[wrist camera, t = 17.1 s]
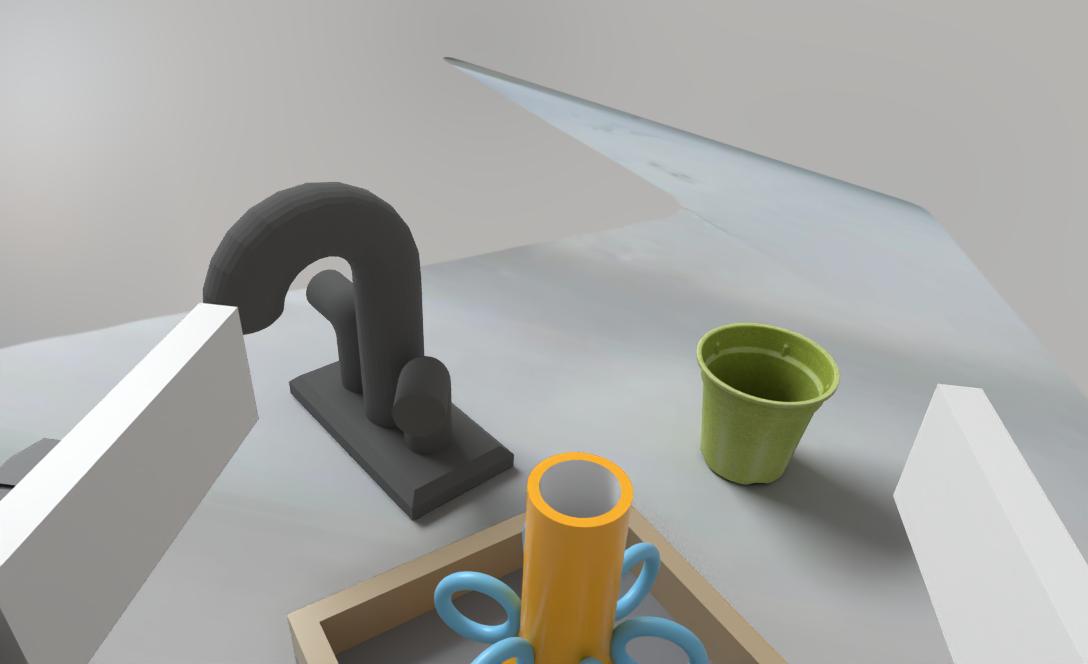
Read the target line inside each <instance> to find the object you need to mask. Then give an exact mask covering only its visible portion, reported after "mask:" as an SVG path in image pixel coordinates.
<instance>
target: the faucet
mask: <svg viewBox="0 0 1088 664" xmlns="http://www.w3.org/2000/svg"><path fill="white" fill-rule="evenodd" d="M329 256H338V257H341V258H344V259H345V260H347V262H348V263H349V264H350V266H351V270H352V276H353V283H352V282H351V281H349V280H348V279H347V278H346V277H344V276H343V275H342V274H341V273H339V272H338V271H336V270H325V271H322V272H320V273H318V274H317V275H315V276H314V277H313V278H312V279H311V281H310V283H309V284H308V287H307V291H306V296H307V300H308V302H309V303H310V304H311V305H312V306H313V307H314V308H315V309H316V310H317V311H318V312H320V313H321V314H322V315H323V316H324V317H325V318H326V319H327V320H329V321H330V322H331V323H332V325H333V327H334V329H335V332H336V336H337V345H338V354H339V361H337V362H335V363H332V364H329V365H327V366H324V367H322V368H319V369H316V370H314V371H311V372H308V373H306V374H303V375H300V376H299V377H297V378H295V379H293V380H291V381H290V382H289V385H290V391H291V394H292V395H293V396H294V397H295V398H296V399H297V400H298V401H299V402H300V403H301V404H302V405H303V406H304V407H305V408H306V409H307V410H308V412H309V413H310V414H311V415H312V416H313V417H314V418H315V419H316V420H317V421H318V422H319V423H320V424H321V425H322V426H323V427H324V428H325V429H326V430H327V431H328V432H329V434H330V435H331V436H332V437H333V438H334V439H335V440H336V441H337V442H338V443H339V444H340V445H341V446H342V447H343V448H344V449H345V450H346V451H347V452H348V453H349V455H350V456H351V457H352V458H353V459H354V460H355V461H356V462H357V463H358V464H359V465H360V466H361V467H362V468H363V469H364V470H365V471H366V472H367V473H368V474H369V475H370V477H371V478H372V479H373V480H374V481H375V482H376V483H377V484H378V485H379V486H380V487H381V488H382V489H383V490H384V491H385V492H386V493H387V494H388V495H389V496H390V497H391V499H392V500H393V501H394V502H395V503H396V504H397V505H398V506H399V507H400V508H401V509H402V510H403V511H404V512H405V513H406V514H407V515H408V516H409V517H410V518H411V519H412V521H413V520H415V519H417V518H419V517H421V516H422V515H424V514H426V513H428V512H430V511H432V510H433V509H435V508H437V507H439V506H441V505H443V504H444V503H446V502H448V501H450V500H452V499H454V498H455V497H457V496H459V495H461V494H463V493H464V492H466V491H468V490H470V489H472V488H474V487H475V486H477V485H479V484H481V483H483V482H485V481H486V480H488V479H490V478H492V477H494V476H496V475H497V474H499V473H501V472H503V471H505V470H507V469H508V468H510V467H512V466H513V461H514V454H513V453H512V452H510V451H509V450H508V449H507V448H506V447H504V446H503V445H502V444H501V443H500V442H498V441H497V440H496V439H495V438H494V437H492V436H491V435H490V434H489V433H488V432H486V431H485V430H484V429H483V428H482V427H480V426H479V425H478V424H477V423H475V422H474V421H473V420H472V419H471V418H469V417H468V416H467V415H466V414H465V413H463V412H462V411H461V410H460V409H459V408H457V407H456V406H455V405H454V404H453V403H451V380H450V375H449V372H448V370H447V368H446V367H445V365H444V364H443V363H442V362H441V361H439V360H437V359H436V358H433V357H428V356H424V337H423V313H422V288H421V272H420V261H419V253H418V249H417V247H416V244H415V241H414V239H413V236H412V234H411V232H410V229H409V227H408V226H407V224H406V223H405V222H404V221H403V219H402V218H401V217H400V216H399V215H398V213H397V212H396V211H395V209H394V208H393V207H392V206H391V205H390V204H388V203H387V202H385V201H384V200H382V199H380V198H379V197H377V196H376V195H374V194H373V193H371V192H369V191H368V190H365V189H362V188H359V187H355V186H351V185H347V184H343V183H340V182H323V183H322V182H321V183H305V184H302V185H298V186H295V187H292V188H289V189H286V190H282V191H279V192H276V193H275V194H273V195H272V196H270V197H268V198H267V199H265V200H263V201H262V202H260V203H258V204H257V205H255V206H253V207H252V208H250V209H249V210H248V211H247V212H246V213H245V214H244V215H243V216H242V217H241V218H240V219H239V220H238V221H237V222H236V223H235V224H234V225H233V226H232V227H231V228H230V229H229V230H228V231H227V233H226V235H225V237H224V238H223V240H222V241H221V243H220V245H219V247H218V248H217V250H216V252H215V254H214V255H213V257H212V259H211V262H210V265H209V269H208V272H207V276H206V280H205V283H204V287H203V303H205V304H214V305H224V306H233V307H238V312H239V317H240V322H241V327H242V333H243V335H245V334H250V333H254V332H258V331H260V330H263V329H265V328H267V327H268V326H270V325H271V324H272V323H274V322H275V321H276V320H277V319H278V318H279V317H280V316H281V314H282V312H283V310H284V302H285V296H286V294H287V291H288V289H289V287H290V285H291V283H292V282H293V280H294V279H295V278H296V276H297V275H298V274H299V273H300V272H301V271H302V270H303V269H304V268H305V267H307V266H308V265H309V264H311V263H313V262H315V261H317V260H319V259H321V258H325V257H329Z"/></svg>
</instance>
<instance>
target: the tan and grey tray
mask: <svg viewBox="0 0 1088 664" xmlns="http://www.w3.org/2000/svg"><path fill="white" fill-rule="evenodd" d="M525 521H526V512H524V513H521V514H519V515H517V516H514V517H512V518H510V519H507V520H505V521H503V522H500V523H498V524H496V525H494V526H491V527H489V528H487V529H484V530H482V531H480V532H477V533H475V534H473V535H470V536H468V537H466V538H463V539H461V540H459V541H456V542H454V543H452V544H449V545H447V546H445V547H442V548H440V549H438V550H435V551H433V552H431V553H428V554H426V555H424V556H422V557H419V558H417V559H415V560H412V561H410V562H408V563H405V564H403V565H401V566H398V567H396V568H394V569H391V570H389V571H387V572H384V573H382V574H380V575H377V576H375V577H373V578H370V579H368V580H366V581H363V582H361V583H359V584H356V585H354V586H352V587H350V588H347V589H345V590H343V591H340V592H338V593H336V594H333V595H331V596H329V597H326V598H324V599H322V600H319V601H317V602H315V603H312V604H310V605H308V606H305V607H303V608H301V609H298V610H296V611H294V612H291V613H289V614H287V618H288V623H289V628H290V633H291V638H292V643H293V648H294V653H295V658H296V663H297V664H471V663H472V662H473V661H474V660H475V659H476V658H477V657H478V656H479V655H480V654H481V653H482V652H483V651H485V650H486V649H487V648H489V647H490V646H492V645H493V644H486V643H480V642H476V641H473V640H470V639H468V638H465V637H463V636H461V635H460V634H458V633H456V632H455V631H454V630H452V629H451V628H450V627H449V626H448V625H446V623H445V622H444V621H443V620H442V619H441V617H440V616H439V614H438V612H437V610H436V607H435V603H434V594H435V590H436V588H437V586H438V584H439V583H440V582H441V581H442V580H443V579H444V578H445V577H447V576H449V575H451V574H453V573H457V572H463V571H471V572H479V573H483V574H486V575H489V576H492V577H494V578H496V579H498V580H500V581H501V582H503V583H504V584H506V585H507V586H508V587H510V588H511V589H512V590H513V591H514V592H515V593H516V594H517V596H518V597H519V599H520V600H522V581H523V562H524V552H523V540H522V535H523V526H524V523H525ZM638 543H650V544H652V545H654V546H655V547H656V548H657V549H658V551H659V553H660V559H661V562H660V568H659V572H658V575H657V577H656V580H655V582H654V584H653V586H652V587H651V589H650V591H649V592H648V594H647V595H646V596H645V598H644V599H643V600H642V602H641V603H640V604H639V605H638V606H637V607H636V608H635V609H634V610H633V611H632V612H631V613H630V614H628V615H627V616H626V617H624V618H622V619H621V620H619V621H616V622H614V629H615V627H617V626H618V625H619V624H620V623H622V622H624V621H626V620H628V619H631V618H636V617H644V616H649V617H659V618H663V619H667V620H670V621H673V622H676V623H678V624H680V625H682V626H684V627H685V628H687V629H688V630H690V631H691V632H692V633H693V634H694V635H695V636H696V637H697V638H698V639H699V640H700V641H701V643H702V644H703V646H704V648H705V650H706V653H707V657H708V664H788V663H787V662H786V661H785V660H784V659H783V658H782V657H781V656H780V655H779V654H778V653H777V652H776V651H775V650H774V649H773V648H772V647H771V646H770V645H769V644H768V643H767V642H766V641H765V640H764V639H763V638H762V637H761V636H760V635H759V634H758V633H757V632H756V631H755V630H754V629H753V627H752V626H751V625H750V624H749V623H748V622H747V621H746V620H745V619H744V618H743V617H742V616H741V615H740V614H739V613H738V612H737V611H736V610H735V609H734V608H733V607H732V606H731V605H730V604H729V603H728V602H727V601H726V600H725V599H724V598H723V597H722V596H721V595H720V594H719V593H718V592H717V591H716V590H715V589H714V588H713V587H712V586H711V585H710V584H709V583H708V582H707V581H706V580H705V579H704V578H703V577H702V576H701V575H700V574H699V573H698V572H697V571H696V570H695V569H694V568H693V567H692V566H691V565H690V564H689V563H688V562H687V561H686V560H685V559H684V558H683V557H682V556H681V554H680V553H679V552H678V551H677V550H676V549H675V548H674V547H673V546H672V545H671V544H670V543H669V542H668V541H667V540H666V539H665V538H664V537H663V536H662V535H661V534H660V533H659V532H658V531H657V530H656V529H655V528H654V527H653V526H652V525H651V524H650V523H649V522H648V521H647V520H646V519H645V518H644V517H643V516H642V515H641V514H640V513H639V512H638V511H637V510H636V509H635V508H634V507H633V506H631V513H630V520H629V526H628V533H627V540H626V546H625V550H627V549H628V548H630V547H631V546H633V545H635V544H638ZM643 565H644V560H642V561H640V562H639V563H637V564H636V565H635V566H633V567H632V568H631V569H630V570H629V571H628V572H627V573H626V574H625V575H624V577H623V578H622V579H621V581H620V587H619V594H618V601H619V600H620V599H621V598H622V597H623V596H624V595H625V594H626V593H627V592H628V591H629V590H630V589H631V588H632V586H633V585H634V583H635V582H636V580H637V579H638V577H639V575H640V573H641V571H642V568H643ZM451 600H452V603H453V605H454V607H455V608H456V609H457V610H458V611H459V612H460V613H461V614H462V615H463V616H465V617H466V618H468V619H469V620H471V621H473V622H476V623H479V624H482V625H487V626H497V625H502V624H504V623H505V622H507V620H508V614H507V612H506V610H505V609H504V607H503V606H502V605H501V604H500V603H499V602H498V601H496V600H495V599H494V598H492V597H490V596H488V595H486V594H484V593H481V592H478V591H474V590H460V591H457V592H455V593H453V594H452V596H451ZM626 650H627V653H628V654H629V655H630V657H631V658H632V659H634V660H635V661H636V662H638V663H639V664H688V663H689V657H688V655H687V653H686V652H685V651H684V650H683V649H682V648H681V647H679V646H678V645H676V644H675V643H673V642H671V641H668V640H666V639H663V638H659V637H653V636H642V637H637V638H634V639H631V640H630V641H629V642H628V643H627V644H626Z"/></svg>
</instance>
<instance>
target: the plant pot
mask: <svg viewBox="0 0 1088 664" xmlns="http://www.w3.org/2000/svg"><path fill="white" fill-rule="evenodd" d="M697 361H698V364H699V366H700V368H701V376H702V380H703V408H702V432H701V451H702V454H703V456H704V458H705V461H706V463H707V465H708V466H709V467H710V468H711V469H712V470H713V471H714V472H715V473H717V474H718V475H720V476H722V477H723V478H726V479H728V480H730V481H733V482H736V483H739V484H744V485H748V484H752V483H766V484H768V483H771V482H774V481H775V480H777V479H779V478H780V477H781V476H782V474H783V473H784V471H785V469H786V467H787V465H788V464H789V462H790V460H791V457H792V455H793V453H794V451H795V449H796V447H797V445H798V443H799V441H800V439H801V437H802V435H803V434H804V432H805V430H806V428H807V426H808V424H809V422H810V420H811V418H812V416H813V414H814V412H815V411H816V410H818V409H819V408H820V406H821V405H822V404H823V402H824V401H826V400H827V399H828V398H830V397H831V396H832V395H833V394H834V392H835V391H836V389H837V387H838V385H839V381H840V373H839V369H838V366H837V364H836V362H835V361H834V359H833V358H832V356H831V355H830V354H829V353H828V352H827V351H826V350H824V349H823V348H822V347H821V346H819V345H818V344H816V343H815V342H813V341H812V340H810V339H808V338H806V337H804V336H802V335H800V334H798V333H795V332H793V331H790V330H787V329H784V328H781V327H776V326H771V325H765V324H756V323H738V324H730V325H725V326H721V327H718V328H716V329H714V330H712V331H710V332H708V333H706V334H705V335H704V336H703V338H702V339H701V340H700V341H699V343H698V347H697Z"/></svg>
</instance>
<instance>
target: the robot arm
mask: <svg viewBox="0 0 1088 664" xmlns="http://www.w3.org/2000/svg"><path fill="white" fill-rule="evenodd" d="M258 419H259V417H258V412H257V407H256V402H255V396H254V391H253V386H252V380H251V375H250V370H249V364H248V359H247V354H246V349H245V343H244V338H243V333H242V327H241V322H240V317H239V312H238V307H233V306H224V305H214V304H205V303H199V304H198V305H197V306H196V307H195V308H194V309H193V310H192V311H191V312H190V313H189V314H188V315H187V316H186V317H185V318H184V319H183V320H182V321H181V322H180V323H179V324H178V325H177V326H176V327H175V328H174V329H173V330H172V331H171V332H170V333H169V334H168V335H167V336H166V337H165V338H164V339H163V340H162V341H161V342H160V343H159V344H158V345H157V346H156V347H155V348H154V349H153V350H152V351H151V352H150V353H149V354H148V355H147V356H146V357H145V358H144V359H143V360H142V361H141V362H140V363H139V364H138V365H137V366H136V367H135V368H134V369H133V370H132V371H131V372H130V373H129V374H128V375H127V376H126V377H125V378H124V379H123V380H122V381H121V382H120V383H119V384H118V385H117V386H116V387H115V388H114V389H113V390H112V391H111V392H110V393H109V394H108V395H107V396H106V397H105V398H104V399H103V400H102V401H101V402H100V403H99V404H98V405H97V406H96V407H94V408H93V409H92V410H91V411H90V412H89V413H88V414H87V415H86V416H85V417H84V418H83V419H82V420H81V421H80V422H79V423H78V424H77V425H76V426H75V427H74V428H73V429H72V430H71V431H70V432H69V433H68V434H67V435H66V436H65V437H64V438H63V439H62V440H55V439H47V438H44V439H42V440H40V441H38V442H37V443H35V444H33V445H31V446H30V447H28V448H26V449H24V450H23V451H21V452H19V453H17V454H16V455H14V456H12V457H10V458H9V459H8V460H7V461H6V462H5V463H4V464H3V465H2V466H1V467H0V664H88V663H89V661H90V660H91V658H92V657H93V655H94V654H95V653H96V651H97V650H98V648H99V647H100V645H101V644H102V643H103V641H104V640H105V638H106V637H107V635H108V634H109V632H110V631H111V630H112V628H113V627H114V625H115V624H116V622H117V621H118V620H119V618H120V617H121V615H122V614H123V612H124V611H125V610H126V608H127V607H128V605H129V604H130V602H131V601H132V600H133V598H134V597H135V595H136V594H137V592H138V591H139V590H140V588H141V587H142V585H143V584H144V582H145V581H146V580H147V578H148V577H149V575H150V574H151V572H152V571H153V569H154V568H155V567H156V565H157V564H158V562H159V561H160V559H161V558H162V557H163V555H164V554H165V552H166V551H167V549H168V548H169V547H170V545H171V544H172V542H173V541H174V539H175V538H176V537H177V535H178V534H179V532H180V531H181V529H182V528H183V527H184V525H185V524H186V522H187V521H188V519H189V518H190V516H191V515H192V514H193V512H194V511H195V509H196V508H197V506H198V505H199V504H200V502H201V501H202V499H203V498H204V496H205V495H206V494H207V492H208V491H209V489H210V488H211V486H212V485H213V484H214V482H215V481H216V479H217V478H218V476H219V475H220V474H221V472H222V471H223V469H224V468H225V466H226V465H227V464H228V462H229V461H230V459H231V458H232V456H233V455H234V453H235V452H236V451H237V449H238V448H239V446H240V445H241V443H242V442H243V441H244V439H245V438H246V436H247V435H248V433H249V432H250V431H251V429H252V428H253V426H254V425H255V423H256V422H257V421H258ZM893 497H894V499H895V502H896V505H897V508H898V510H899V513H900V516H901V519H902V521H903V524H904V527H905V530H906V532H907V535H908V538H909V541H910V543H911V546H912V549H913V552H914V554H915V557H916V560H917V563H918V565H919V568H920V571H921V574H922V576H923V579H924V582H925V585H926V587H927V590H928V593H929V596H930V598H931V601H932V604H933V607H934V609H935V612H936V615H937V618H938V620H939V623H940V626H941V629H942V631H943V634H944V637H945V640H946V642H947V645H948V648H949V651H950V653H951V656H952V659H953V662H954V664H1088V565H1087V563H1086V562H1085V560H1084V558H1083V557H1082V555H1081V553H1080V552H1079V550H1078V548H1077V547H1076V545H1075V543H1074V542H1073V540H1072V538H1071V537H1070V535H1069V533H1068V532H1067V530H1066V528H1065V527H1064V525H1063V523H1062V522H1061V520H1060V518H1059V517H1058V515H1057V513H1056V512H1055V510H1054V508H1053V507H1052V505H1051V503H1050V502H1049V500H1048V498H1047V497H1046V495H1045V493H1044V492H1043V490H1042V488H1041V487H1040V485H1039V483H1038V482H1037V480H1036V478H1035V477H1034V475H1033V473H1032V472H1031V470H1030V468H1029V467H1028V465H1027V463H1026V462H1025V460H1024V458H1023V457H1022V455H1021V453H1020V452H1019V450H1018V448H1017V447H1016V445H1015V443H1014V442H1013V440H1012V438H1011V437H1010V435H1009V433H1008V432H1007V430H1006V428H1005V427H1004V425H1003V423H1002V422H1001V420H1000V418H999V417H998V415H997V413H996V412H995V410H994V408H993V406H992V405H991V403H990V401H989V400H988V398H987V396H986V395H985V393H984V391H983V390H982V389H980V388H971V387H962V386H953V385H943V384H938V385H937V387H936V390H935V392H934V395H933V397H932V400H931V402H930V405H929V407H928V410H927V412H926V415H925V417H924V420H923V422H922V425H921V427H920V430H919V432H918V435H917V437H916V440H915V442H914V445H913V447H912V450H911V452H910V455H909V457H908V460H907V462H906V465H905V467H904V470H903V472H902V475H901V477H900V480H899V482H898V485H897V487H896V490H895V492H894V495H893Z"/></svg>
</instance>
